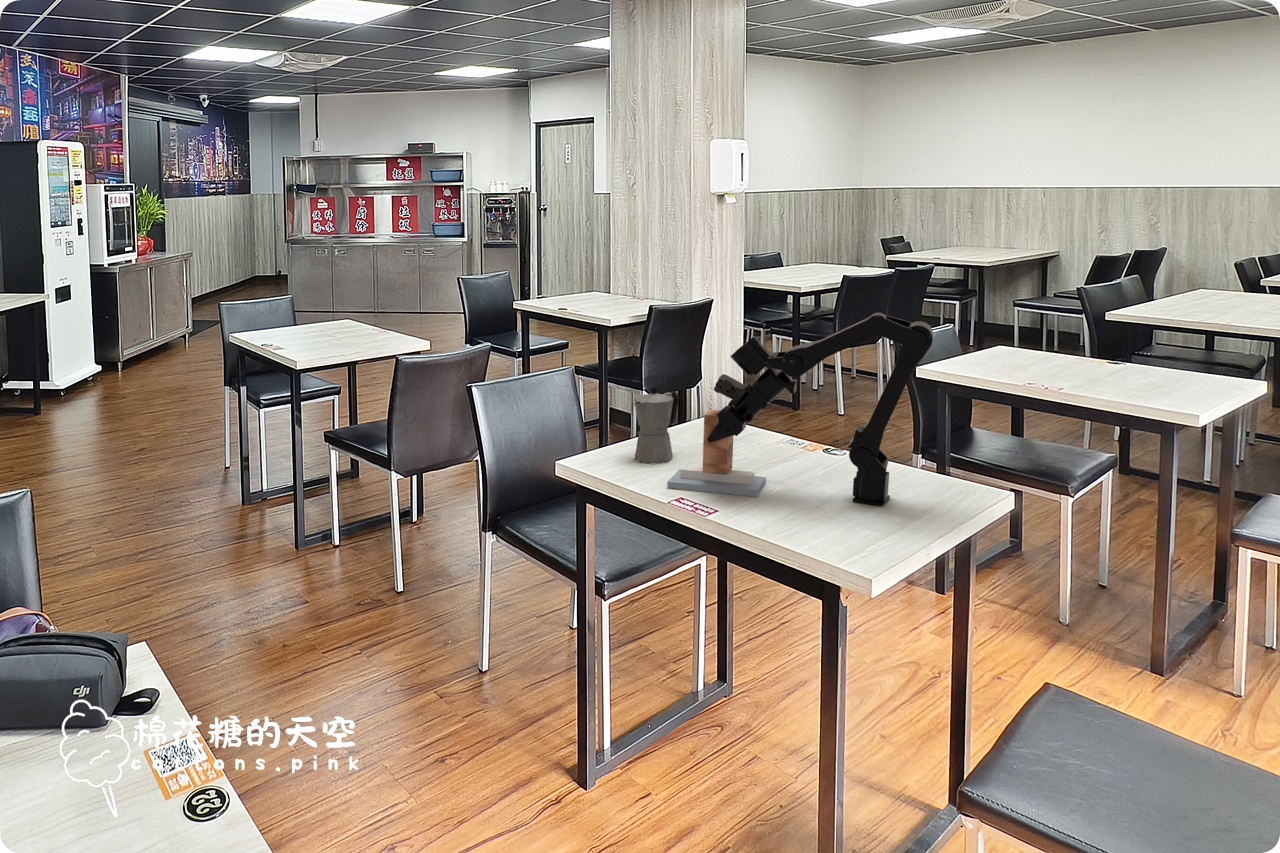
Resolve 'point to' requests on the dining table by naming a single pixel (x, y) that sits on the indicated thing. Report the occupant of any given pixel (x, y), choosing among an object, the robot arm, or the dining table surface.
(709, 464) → the cherry block
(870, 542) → the dining table surface
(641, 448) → the coffeepot
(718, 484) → the ridge board
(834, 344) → the robot arm
